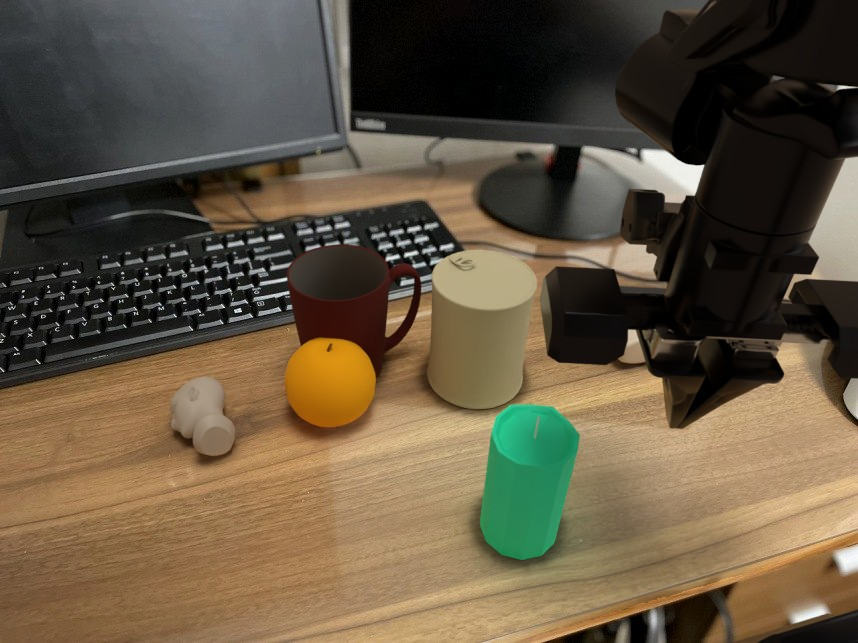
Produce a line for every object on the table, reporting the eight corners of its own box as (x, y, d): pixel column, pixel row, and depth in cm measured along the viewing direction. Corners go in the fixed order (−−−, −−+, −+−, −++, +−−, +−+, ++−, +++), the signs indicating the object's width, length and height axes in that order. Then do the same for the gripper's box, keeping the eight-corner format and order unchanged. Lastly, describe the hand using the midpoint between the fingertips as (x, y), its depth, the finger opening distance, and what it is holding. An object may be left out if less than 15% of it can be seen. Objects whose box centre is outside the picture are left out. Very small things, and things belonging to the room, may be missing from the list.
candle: (562, 561, 49) (591, 453, 42) (481, 558, 49) (496, 451, 42) (551, 494, 54) (576, 387, 47) (477, 492, 54) (490, 384, 47)
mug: (405, 324, 70) (406, 233, 64) (432, 379, 64) (436, 285, 57) (291, 345, 67) (279, 252, 60) (307, 406, 61) (296, 309, 54)
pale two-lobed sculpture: (179, 415, 61) (230, 388, 62) (191, 479, 55) (247, 449, 56) (154, 385, 58) (208, 358, 59) (163, 450, 52) (223, 419, 53)
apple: (271, 406, 61) (260, 342, 56) (340, 367, 65) (335, 305, 61) (324, 456, 56) (317, 392, 52) (394, 411, 61) (394, 348, 56)
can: (474, 333, 70) (483, 233, 62) (542, 378, 65) (560, 276, 57) (407, 372, 65) (408, 269, 57) (475, 425, 60) (486, 319, 52)
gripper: (869, 147, 39) (775, 349, 49) (550, 132, 40) (520, 335, 49) (983, 249, 30) (842, 470, 40) (573, 229, 31) (531, 452, 41)
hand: (673, 423), depth 43 cm, fingers closed
